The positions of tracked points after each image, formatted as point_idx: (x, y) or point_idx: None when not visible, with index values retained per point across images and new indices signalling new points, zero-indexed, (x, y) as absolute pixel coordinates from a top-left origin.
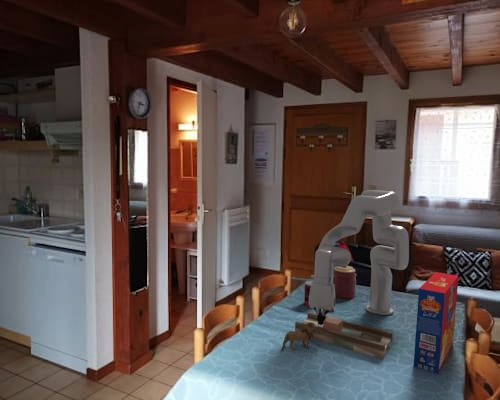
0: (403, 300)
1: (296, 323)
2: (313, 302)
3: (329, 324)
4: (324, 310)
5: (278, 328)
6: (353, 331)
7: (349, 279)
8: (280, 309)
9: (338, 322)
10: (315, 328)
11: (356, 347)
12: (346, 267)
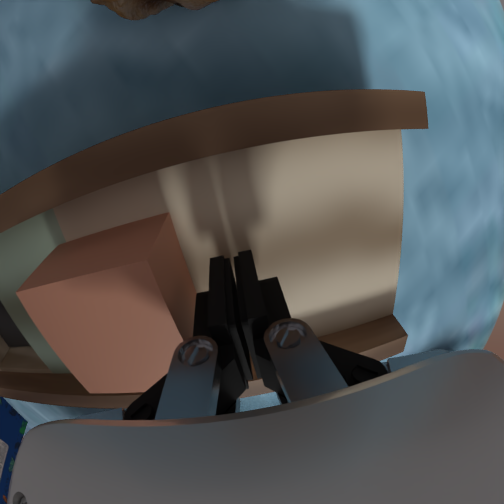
0: None
1: (410, 91)
2: (452, 456)
3: (85, 265)
4: (171, 413)
5: (463, 120)
6: None
7: None
8: (488, 307)
9: (53, 337)
10: (92, 2)
11: None
12: None
